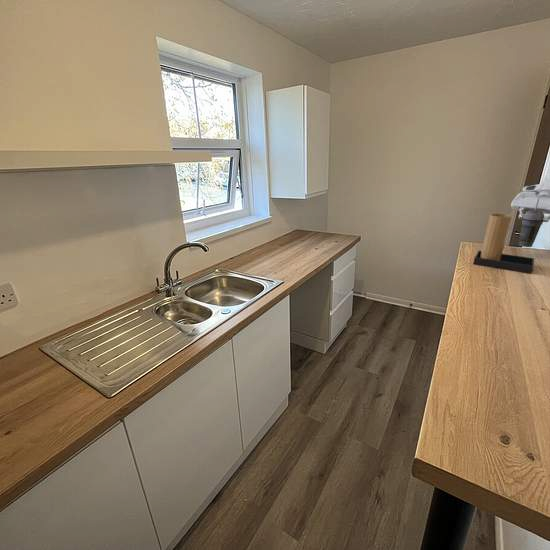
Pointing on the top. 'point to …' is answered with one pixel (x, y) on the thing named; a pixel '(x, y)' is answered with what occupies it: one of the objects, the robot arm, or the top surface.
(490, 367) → the top surface
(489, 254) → the wooden cylinder
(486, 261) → the tray
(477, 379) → the top surface
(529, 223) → the beverage cup
